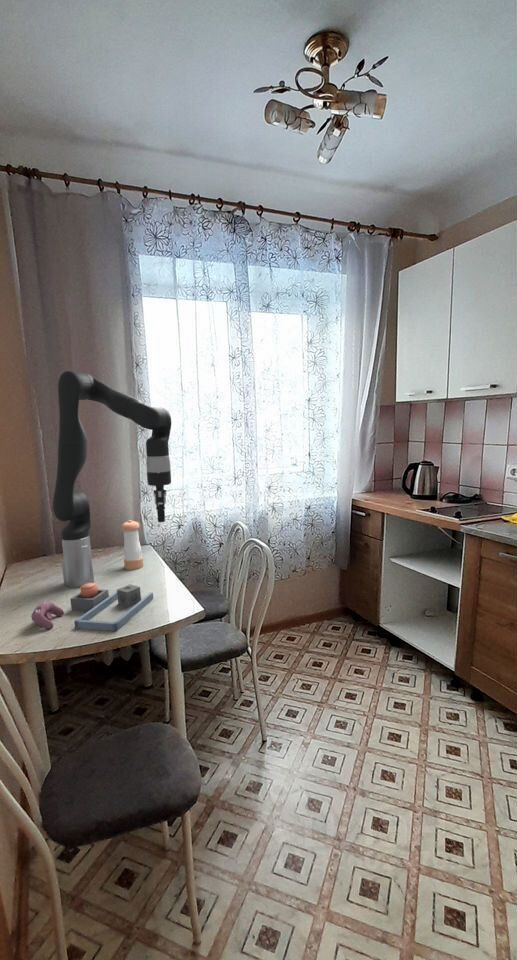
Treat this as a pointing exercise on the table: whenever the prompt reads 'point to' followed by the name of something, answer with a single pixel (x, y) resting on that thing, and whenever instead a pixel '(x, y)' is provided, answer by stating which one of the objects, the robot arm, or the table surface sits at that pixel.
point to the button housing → (87, 601)
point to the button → (89, 590)
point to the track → (113, 626)
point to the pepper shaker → (132, 546)
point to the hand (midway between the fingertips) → (161, 519)
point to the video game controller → (46, 614)
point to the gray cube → (128, 595)
